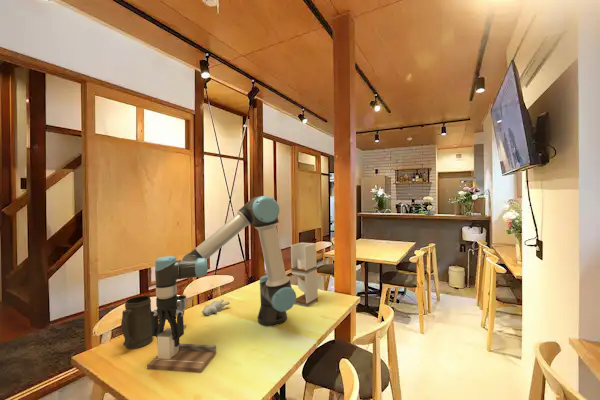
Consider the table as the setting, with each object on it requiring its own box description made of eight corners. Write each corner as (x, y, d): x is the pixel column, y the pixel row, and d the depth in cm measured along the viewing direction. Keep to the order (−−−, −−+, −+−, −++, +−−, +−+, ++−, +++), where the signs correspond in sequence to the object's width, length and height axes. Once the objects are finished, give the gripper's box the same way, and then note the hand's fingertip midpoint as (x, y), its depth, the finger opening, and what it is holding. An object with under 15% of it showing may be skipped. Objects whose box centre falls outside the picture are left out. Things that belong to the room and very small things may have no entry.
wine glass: (180, 332, 130) (179, 301, 130) (166, 331, 131) (165, 300, 131) (190, 324, 137) (189, 295, 137) (176, 323, 139) (175, 294, 139)
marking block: (178, 350, 110) (178, 328, 110) (169, 359, 104) (168, 335, 104) (167, 349, 111) (167, 328, 111) (157, 358, 105) (157, 335, 105)
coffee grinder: (303, 297, 170) (301, 242, 171) (317, 300, 164) (315, 243, 164) (292, 303, 161) (290, 245, 161) (307, 307, 155) (305, 246, 155)
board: (216, 353, 110) (216, 345, 110) (201, 372, 98) (200, 362, 98) (167, 351, 113) (167, 342, 113) (146, 368, 101) (146, 359, 101)
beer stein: (134, 336, 127) (131, 295, 126) (157, 334, 128) (155, 293, 127) (114, 357, 112) (111, 310, 110) (141, 355, 113) (138, 309, 111)
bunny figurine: (198, 307, 151) (220, 295, 163) (199, 315, 151) (221, 303, 163) (208, 310, 145) (230, 298, 157) (209, 319, 145) (231, 307, 157)
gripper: (192, 292, 110) (194, 349, 110) (152, 292, 113) (154, 347, 113) (181, 299, 103) (183, 360, 103) (139, 298, 106) (141, 357, 105)
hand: (168, 353), depth 108 cm, fingers closed on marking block, 5 cm apart
